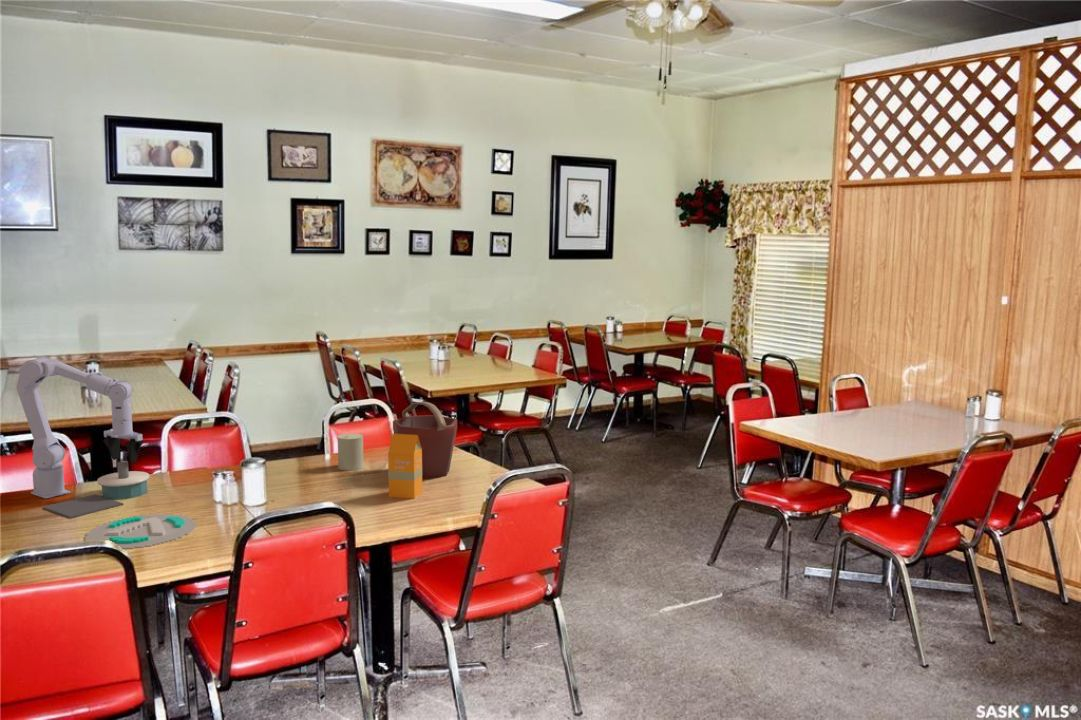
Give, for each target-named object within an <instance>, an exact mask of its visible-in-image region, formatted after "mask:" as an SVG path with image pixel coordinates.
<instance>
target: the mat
mask: <svg viewBox="0 0 1081 720" xmlns="http://www.w3.org/2000/svg"><path fill="white" fill-rule="evenodd" d="M119 506H120V507H121V506H124V503H123V502H121V501H117V500H116V499H108V498H105V497H102V495H99V494H96V493H95V494H91V495H87V496H83V497H79V498H75V499H71V500H66V501H62V502H58V503H53V504H50V505H46V506H43V507H42V508H43V509H44V510H46V511H48V512H52V513H53V514H54V513H55V514H57V515H60V516H63V517H66V518H69V519H73V518H78V517H81V516H86V515H89V514H93V513H96V512H101V511H104V510H109V509H111V508H116V507H119Z"/></svg>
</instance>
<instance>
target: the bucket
mask: <svg viewBox="0 0 1081 720" xmlns="http://www.w3.org/2000/svg"><path fill="white" fill-rule="evenodd" d="M419 405H423V406H424V407H427V408H428V410H429V411H430V412H431V414H432V415H431V414H430V415H410V414H409V412H412V411H413V410H415V409H416V408H417V407H418V406H419ZM401 415H402V418H399V419H395V420H392V431H393V434H410V435H418V438H419V441H420V444H421V448H422V480H430V479H431V480H432V479H437V478H442V477H447V476H448V473H449V472H450V468H451V464H452V459H453V458H452V457H453V452H454V446H455V442H456V436H457V430H458V418H455V417H449V416H444V415H443V414H442V412H441V411H440V409H439V408H438V407H437V406H436V405H435V404H433V403H431V402H428V401H417V402H412V403H411V404H410V405H408V406H407V407H406V408H405V409H403V410H402V412H401Z"/></svg>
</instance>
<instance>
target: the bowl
mask: <svg viewBox="0 0 1081 720" xmlns="http://www.w3.org/2000/svg"><path fill="white" fill-rule="evenodd" d="M147 493H148V480H146V481H144V482H141V483H138V484H133V485H128V486H116V487H110V486H102V485H101V496H102V497H105V498H108V499H111V500H126V499H127V500H128V499H134V498H137V497H141V496H143V495H145V494H147Z"/></svg>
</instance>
